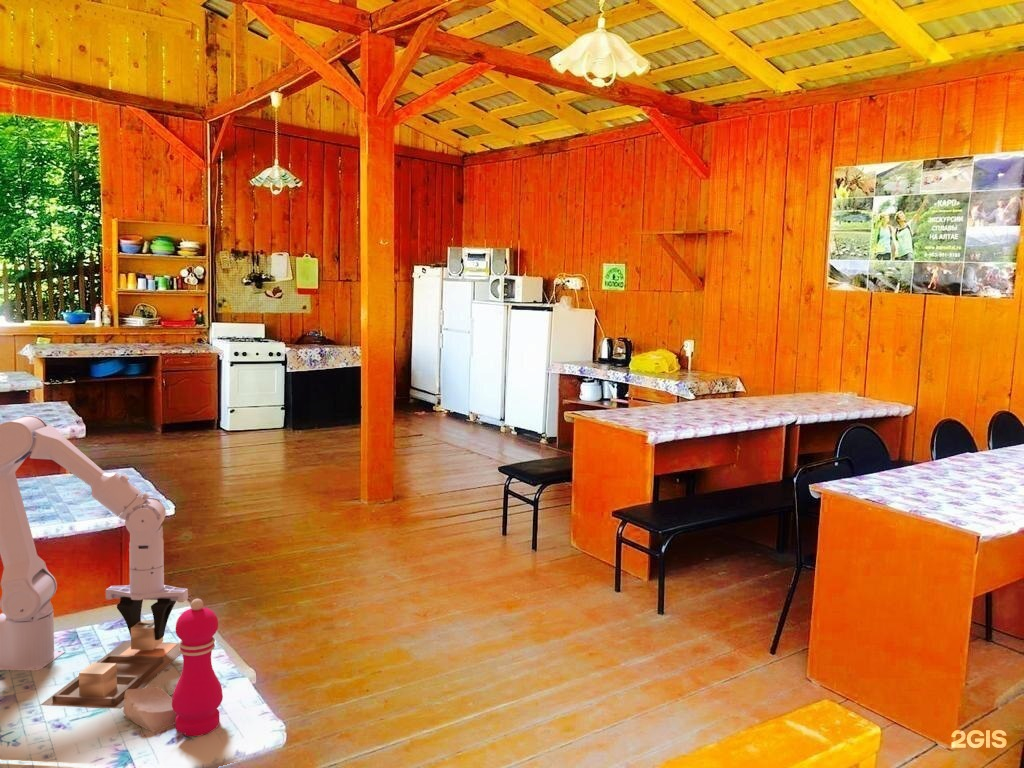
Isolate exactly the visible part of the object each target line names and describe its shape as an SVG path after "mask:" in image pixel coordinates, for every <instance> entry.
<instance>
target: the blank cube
mask: <svg viewBox="0 0 1024 768" xmlns="http://www.w3.org/2000/svg"><path fill="white" fill-rule="evenodd" d="M96 662H97V661H96ZM96 662H94V661H93V662H92V663H91V664H88V666H87V667H85V668H84V669H83V670H80V672H78V676H79V696H101V697H105V696H106V695H107V694H109V693H110V692H111V691H112V690H113V689H115V688H116V687H117V663H96Z"/></svg>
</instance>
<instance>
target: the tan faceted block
mask: <svg viewBox="0 0 1024 768" xmlns="http://www.w3.org/2000/svg"><path fill="white" fill-rule="evenodd" d="M122 708H123V709H122V710H123V714H124V717H125V718H126V719H127V720H130V721H131V722H133V723H134V724H136V725H137V726H140V727H141V728H144V729H145V730H148V731H150V732H156V731H160V730H162V729H164V728H167V727H170V726H172V725H175V719H176V717H177V715H178V714H177V713H176V712H175V711H174V710H173V708H172V696H170V694H168V692H166V691H165V690H164V689H163V688H162V687H160V686H152V687H144V688H142V689H127V690H126V691H125V696H124V706H123V707H122Z"/></svg>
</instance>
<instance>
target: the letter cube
mask: <svg viewBox="0 0 1024 768" xmlns="http://www.w3.org/2000/svg"><path fill="white" fill-rule="evenodd" d="M130 641H131V649H135V650H153V649H155V648H156V647H157V646H158V645H159V644H161V643H164V636H163V637H162V638H161V639H160V640H155V633H154V619H141V621H140V622H138V623H137V624H136V625H134V626H133V627H132V628H131V636H130Z"/></svg>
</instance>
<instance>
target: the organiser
mask: <svg viewBox="0 0 1024 768" xmlns="http://www.w3.org/2000/svg"><path fill="white" fill-rule="evenodd" d="M179 643H180V642H162V643H161V644H159V645H158V646H157V647H156V648H155V649H153V650H135V649H131V640H124V641H123V642H122V643H120V644H118V645H117V646H116V647H115V648H114V649H112V650H111V651H110V652H109V653H107V654H106V655H104V656H103V657H101V658H100V659H99V660H98V661H96V663H117V687H116V688H115V689H113V690H112V691H111V692H110V693H109V694H107V695H106V696H105V697H101V696H79V675H78V676H76V677H75V678H74V679H73V680H71V681H70V682H69V683H67V684H66V685H64V686H63V687H62V688H60V689H59V690H58V691H56V692H55V693H54V694H53V695H51V696H50V697H48V698H47V699H46V700H44V701H43V702H42V703H41V704H40V706H51V707H52V706H53V707H54V706H55V707H56V706H58V707H77V708H79V707H80V708H99V709H100V708H103V709H122V708H124V696H125V691H126V690H127V689H142V688H146V686H147V685H148V684H150V683H151V682H152V681H153V680H154V679H155V678H156V677H157V676H158V675H160V674H161V673H162V672H163V671H164V670H165V669H166V668H167V667H168V666H169V665H170V664H171V663H173V661H175V660H176V659H178V657H179V656H181V655H182V654H181V653H180V651H179V649H180V646H179Z"/></svg>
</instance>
